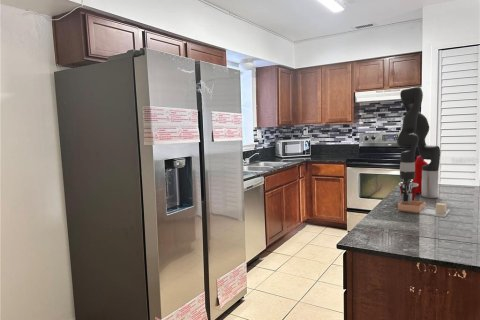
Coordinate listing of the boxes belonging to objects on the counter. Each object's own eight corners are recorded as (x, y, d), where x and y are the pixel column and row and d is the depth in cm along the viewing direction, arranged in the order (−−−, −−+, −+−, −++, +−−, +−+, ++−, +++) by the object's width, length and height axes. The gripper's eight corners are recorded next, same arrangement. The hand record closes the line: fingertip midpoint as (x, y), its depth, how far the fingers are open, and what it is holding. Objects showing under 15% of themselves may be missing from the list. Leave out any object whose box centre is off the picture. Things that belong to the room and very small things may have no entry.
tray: (426, 208, 185) (426, 206, 185) (450, 211, 177) (450, 209, 177) (419, 214, 175) (419, 212, 175) (444, 217, 167) (444, 215, 167)
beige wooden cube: (437, 211, 177) (437, 202, 176) (446, 212, 174) (446, 203, 174) (435, 213, 174) (435, 204, 173) (444, 214, 171) (444, 205, 171)
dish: (404, 206, 192) (404, 199, 191) (425, 209, 184) (425, 202, 184) (397, 210, 183) (397, 203, 182) (419, 213, 176) (419, 206, 175)
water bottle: (407, 191, 231) (407, 155, 228) (423, 190, 231) (423, 155, 228) (413, 194, 222) (414, 157, 219) (430, 193, 221) (431, 156, 219)
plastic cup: (397, 204, 196) (397, 184, 195) (398, 200, 206) (398, 181, 205) (418, 206, 191) (418, 185, 190) (418, 201, 201) (418, 182, 200)
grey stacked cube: (404, 200, 188) (404, 192, 187) (412, 201, 185) (412, 193, 185) (401, 202, 185) (401, 193, 184) (409, 203, 182) (409, 194, 181)
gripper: (404, 168, 191) (403, 197, 193) (396, 171, 180) (395, 202, 182) (418, 169, 186) (417, 198, 187) (411, 172, 175) (410, 203, 177)
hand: (406, 200), depth 185 cm, fingers closed on grey stacked cube, 4 cm apart
